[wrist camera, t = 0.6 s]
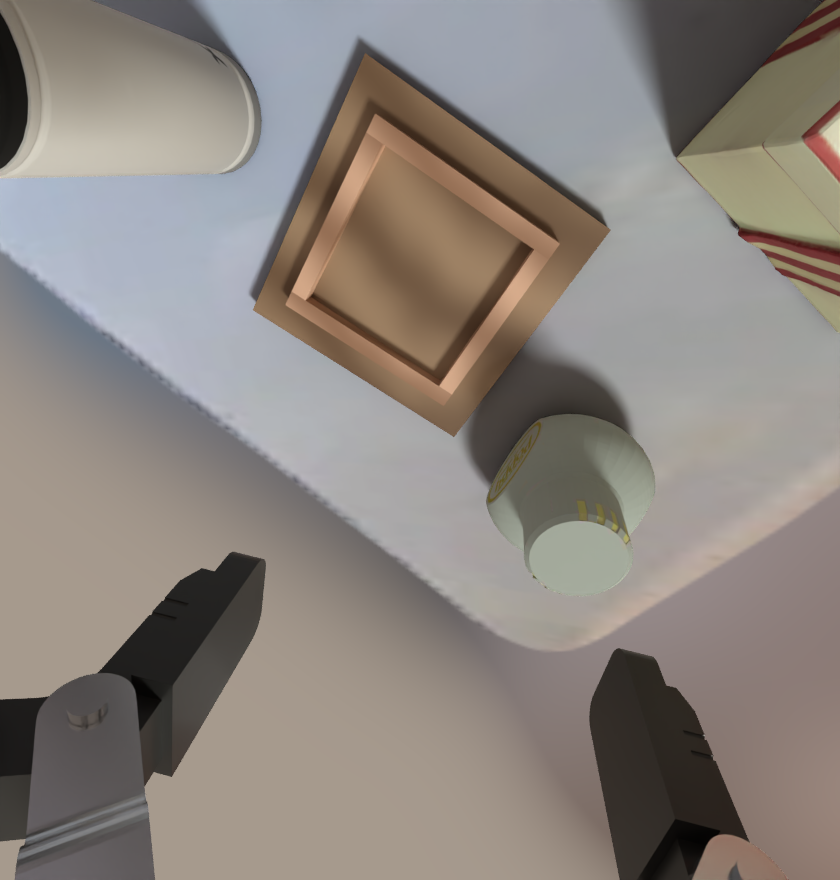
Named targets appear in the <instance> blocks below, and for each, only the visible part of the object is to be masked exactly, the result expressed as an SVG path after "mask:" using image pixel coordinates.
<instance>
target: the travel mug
mask: <svg viewBox="0 0 840 880" xmlns="http://www.w3.org/2000/svg"><path fill="white" fill-rule="evenodd" d="M261 121H262V120H261V110H260V105H259V101H258V97H257V94H256V92H255V89H254V87H253V85H252V83H251V81H250V80H249V78H248V76H247V75H246V73H245V72H244V71H243V69H242V68H241V67H240V66H239V65H238V64H237V63H236V62H235V61H234V60H233V59H231V58H230V57H229V56H227V55H226V54H224V53H222V52H220V51H218V50H216V49H213V48H211V47H208V46H206V45H203V44H201V43H198V42H196V41H193V40H191V39H188V38H185V37H183V36H180V35H178V34H175V33H173V32H170V31H168V30H165V29H163V28H160V27H158V26H155V25H153V24H150V23H148V22H145V21H143V20H140V19H137V18H135V17H132V16H130V15H127V14H125V13H122V12H120V11H117V10H115V9H112V8H110V7H107V6H105V5H102V4H100V3H97V2H95V1H92V0H0V178H43V177H92V176H141V175H190V174H225V173H229V172H233V171H235V170H237V169H239V168H241V167H242V166H243V165H244V164H246V163H247V162H248V161H249V159H250V158H251V157H252V155H253V154H254V152H255V150H256V147H257V145H258V142H259V138H260V134H261Z"/></svg>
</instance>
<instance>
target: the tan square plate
mask: <svg viewBox="0 0 840 880" xmlns="http://www.w3.org/2000/svg"><path fill="white" fill-rule="evenodd" d="M609 232H610V229H609V228H607V227H606V226H605V225H603V224H602V223H600V222H599V221H598V220H596V219H595V218H593V217H592V216H591V215H589V214H588V213H587V212H585V211H584V210H582V209H581V208H580V207H578V206H577V205H575V204H574V203H573V202H571V201H570V200H568V199H567V198H566V197H564V196H563V195H561V194H560V193H559V192H557V191H556V190H555V189H553V188H552V187H550V186H549V185H548V184H546V183H545V182H543V181H542V180H541V179H539V178H538V177H536V176H535V175H534V174H532V173H531V172H530V171H528V170H527V169H525V168H524V167H523V166H521V165H520V164H518V163H517V162H516V161H514V160H513V159H511V158H510V157H509V156H507V155H506V154H505V153H503V152H502V151H500V150H499V149H498V148H496V147H495V146H493V145H492V144H491V143H489V142H488V141H486V140H485V139H484V138H482V137H481V136H480V135H478V134H477V133H475V132H474V131H473V130H471V129H470V128H468V127H467V126H466V125H464V124H463V123H461V122H460V121H459V120H457V119H456V118H455V117H453V116H452V115H450V114H449V113H448V112H446V111H445V110H443V109H442V108H441V107H439V106H438V105H436V104H435V103H434V102H432V101H431V100H430V99H428V98H427V97H425V96H424V95H423V94H421V93H420V92H418V91H417V90H416V89H414V88H413V87H411V86H410V85H409V84H407V83H406V82H405V81H403V80H402V79H400V78H399V77H398V76H396V75H395V74H393V73H392V72H391V71H389V70H388V69H386V68H385V67H384V66H382V65H381V64H380V63H378V62H377V61H375V60H374V59H373V58H371V57H370V56H368V55H367V54H366V53H365V55H364V57H363V59H362V62H361V64H360V66H359V68H358V71H357V73H356V75H355V78H354V80H353V82H352V84H351V87H350V89H349V91H348V94H347V96H346V98H345V100H344V103H343V105H342V107H341V110H340V112H339V114H338V116H337V119H336V121H335V123H334V126H333V128H332V130H331V132H330V135H329V137H328V139H327V142H326V144H325V146H324V149H323V151H322V153H321V155H320V158H319V160H318V162H317V165H316V167H315V169H314V171H313V174H312V176H311V178H310V181H309V183H308V185H307V187H306V190H305V192H304V194H303V197H302V199H301V201H300V203H299V206H298V208H297V210H296V213H295V215H294V217H293V219H292V222H291V224H290V226H289V229H288V231H287V233H286V235H285V238H284V240H283V242H282V245H281V247H280V249H279V251H278V254H277V256H276V258H275V261H274V263H273V265H272V267H271V270H270V272H269V274H268V277H267V279H266V281H265V283H264V286H263V288H262V290H261V293H260V295H259V297H258V300H257V302H256V304H255V306H254V309H253V310H254V311H255V312H257V313H258V314H260V315H262V316H263V317H265V318H266V319H268V320H269V321H271V322H273V323H274V324H276V325H277V326H279V327H281V328H282V329H284V330H285V331H287V332H288V333H290V334H292V335H293V336H295V337H296V338H298V339H300V340H301V341H303V342H304V343H306V344H308V345H309V346H311V347H312V348H314V349H315V350H317V351H319V352H320V353H322V354H323V355H325V356H327V357H328V358H330V359H331V360H333V361H334V362H336V363H338V364H339V365H341V366H342V367H344V368H346V369H347V370H349V371H350V372H352V373H353V374H355V375H357V376H358V377H360V378H361V379H363V380H365V381H366V382H368V383H369V384H371V385H372V386H374V387H376V388H377V389H379V390H380V391H382V392H384V393H385V394H387V395H388V396H390V397H392V398H393V399H395V400H396V401H398V402H399V403H401V404H403V405H404V406H406V407H407V408H409V409H411V410H412V411H414V412H415V413H417V414H418V415H420V416H422V417H423V418H425V419H426V420H428V421H430V422H431V423H433V424H434V425H436V426H437V427H439V428H441V429H442V430H444V431H445V432H447V433H449V434H450V435H452V436H453V437H454V436H455V435H456V434H457V432H458V431H459V430H460V428H461V427H462V426H463V424H464V423H465V422H466V420H467V419H468V418H469V416H470V415H471V414H472V412H473V411H474V410H475V408H476V407H477V406H478V405H479V403H480V402H481V401H482V399H483V398H484V397H485V395H486V394H487V393H488V391H489V390H490V389H491V387H492V386H493V385H494V383H495V382H496V381H497V379H498V378H499V377H500V375H501V374H502V373H503V372H504V370H505V369H506V368H507V366H508V365H509V364H510V362H511V361H512V360H513V358H514V357H515V356H516V354H517V353H518V352H519V350H520V349H521V348H522V346H523V345H524V344H525V342H526V341H527V340H528V339H529V337H530V336H531V335H532V333H533V332H534V331H535V329H536V328H537V327H538V325H539V324H540V323H541V321H542V320H543V319H544V317H545V316H546V315H547V313H548V312H549V311H550V309H551V308H552V307H553V306H554V304H555V303H556V302H557V300H558V299H559V298H560V296H561V295H562V294H563V292H564V291H565V290H566V288H567V287H568V286H569V284H570V283H571V282H572V280H573V279H574V278H575V276H576V275H577V274H578V273H579V271H580V270H581V269H582V267H583V266H584V265H585V263H586V262H587V261H588V259H589V258H590V257H591V255H592V254H593V253H594V251H595V250H596V249H597V247H598V246H599V245H600V243H601V242H602V241H603V240H604V238H605V237H606V236H607V234H608V233H609Z"/></svg>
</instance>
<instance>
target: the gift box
mask: <svg viewBox="0 0 840 880" xmlns="http://www.w3.org/2000/svg"><path fill="white" fill-rule="evenodd" d="M676 159H677V161H678V162H679V163H680V164H681V165H682V166H683V167H684V168H685V169H686V170H687V171H688V172H689V174H690V175H691V176H692V177H693V178H694V179H695V180H696V181H697V182H698V183H699V184H700V185H701V186H702V187H703V188H704V189H705V190H706V191H707V192H708V193H709V194H710V195H711V196H712V197H713V199H714V200H715V201H716V202H717V203H718V204H719V205H720V206H721V207H722V208H723V209H724V210H725V211H726V213H727V214H728V215H729V216H730V217H731V218H732V219H733V220H734V221H735V222H736V223H737V225H738V226H739V228H740V229H739V232H738V235H739V236H740V237H741V238H743V239H744V240H745V241H747V242H748V243H750V244H752V245H754V246H756V247H758V248H760V249H761V250H762V251H763V252H764V253H765V254H766V256H767V257H768V259H769V260H770V262H771V263H772V264H773V266H774V267H775V269H776V270H777V271H779V272H780V273H781V274H782V275H784V276H786V277H787V278H788V279H789V280H790V281H791V282H792V283H793V284H794V285H795V286H796V287H797V288H798V289H799V291H800V292H801V293H802V294H803V295H804V296H805V297H806V298H807V299H808V300H809V301H810V303H811V304H812V305H813V306H814V307H815V308H816V309H817V310H818V311H819V313H820V314H821V315H822V316H823V317H824V318H825V319H826V320H827V321H828V322H829V323H830V324H831V325H832V327H833V328H834V329H835V330H836V331H837V332H839V333H840V0H824V1H823V2H822V3H821V4H820V5H819V6H818V7H817V8H816V9H815V10H814V11H813V12H812V13H811V14H810V15H809V16H808V17H807V18H806V19H805V20H804V21H803V22H802V23H801V24H800V25H799V26H798V27H797V28H796V29H795V30H794V32H793V33H792V34H791V35H790V36H789V37H788V38H787V39H786V40H785V41H784V42H783V43H782V44H781V45H780V46H779V47H778V48H777V50H776V51H775V52H774V53H773V54H772V55H771V56H770V57H769V58H768V59H767V61H766V62H765V63H764V64H763V65H762V66H761V67H760V69H759V70H758V71H757V72H756V73H755V74H754V75H753V76H752V77H751V78H750V79H749V80H748V81H747V83H746V84H745V85H744V86H743V87H742V88H741V89H740V90H739V91H738V92H737V93H736V94H735V95H734V96H733V97H732V98H731V99H730V100H729V101H728V102H727V103H726V105H725V106H724V107H723V108H722V109H721V110H720V111H719V112H718V113H717V114H716V115H715V116H714V117H713V118H712V119H711V120H710V121H709V122H708V124H707V125H706V126H705V127H704V128H703V129H702V130H701V131H700V132H699V133H698V134H697V135H696V137H695V138H694V139H693V140H692V141H691V142H690V143H689V144H688V145H687V146H686V147H685V148H684V149H683V151H682V152H681V153H680V154H679V155H678V156H677V158H676Z"/></svg>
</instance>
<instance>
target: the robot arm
mask: <svg viewBox="0 0 840 880" xmlns="http://www.w3.org/2000/svg"><path fill="white" fill-rule="evenodd" d="M265 569H266V563H265V560H264V559H261V558H257V557H252V556H249V555H245V554H241V553H237V552H231V553H230V554H229V555H228V556H227V557H226V558H225V559H224V561H223V562H222V563H221V565H220V566H219V567H218V568H217V569H216V571H210V570H207V569H202V568H201V569H200V570H198V571H197V572H195V573H193V574H191V575H189V576H187V577H186V578H184V579H182V580H180V581H179V582H178V584H177V585H176V586H175V587H174V588H173V589H172V590H171V591H170V593H169V594H168V595H167V596H166V597H165V600H164V601H161V603H160V604H159V605H158V606H157V607H156V608H155V609H154V611H153V612H152V615H149V616H148V617H147V618H146V619H145V621H144V622H143V623H142V624H141V625H140V626H139V628H138V629H137V630H136V631H135V632H134V633H133V634H132V635H131V636H130V638H129V639H128V640H127V641H126V642H125V643H124V644H123V645H122V647H121V648H120V649H119V650H118V651H117V652H116V653H115V655H114V656H113V657H112V658H111V659H110V660H109V661H108V663H106V665H105V666H104V667H103V668H102V669H101V670H100V671H99V672H98V673H96V674H91V675H86V676H83V677H79V678H77V679H75V680H72V681H70V682H68V683H66V684H65V685H63V686H61V687H60V688H59V689H57V690H56V691H55V692H54V693H52V694H51V695H50V696H48V697H43V698H27V699H5V700H4V699H3V700H0V841H9V840H18V839H26V840H25V845H24V846H21V847H20V850H19V853H18V858H17V864H16V872H15V880H155V875H154V864H153V854H152V843H151V833H150V822H149V812H148V804H147V802H146V798H145V788H144V787H145V785H146V783H147V782H148V780H149V779H150V777H151V775H152V774H153V772H156V773H160V774H163V775H167V776H171V777H172V775H173V774H174V772H175V770H176V769H177V767H178V765H179V764H180V762H181V760H182V758H183V757H184V755H185V753H186V752H187V750H188V748H189V747H190V745H191V743H192V741H193V740H194V738H195V736H196V735H197V733H198V731H199V729H200V728H201V726H202V724H203V723H204V721H205V719H206V717H207V716H208V714H209V712H210V711H211V709H212V707H213V705H214V704H215V702H216V700H217V698H218V697H219V695H220V694H221V692H222V690H223V688H224V687H225V685H226V683H227V682H228V680H229V678H230V676H231V675H232V673H233V671H234V670H235V668H236V666H237V664H238V663H239V661H240V659H241V658H242V656H243V654H244V653H245V651H246V649H247V647H248V646H249V644H250V642H251V641H252V639H253V636H254V635H255V632H256V629H257V627H258V624H259V620H260V616H261V611H262V600H263V589H264V579H265ZM589 717H590V729H591V735H592V740H593V745H594V750H595V755H596V760H597V765H598V771H599V776H600V781H601V786H602V791H603V796H604V801H605V806H606V812H607V816H608V822H609V827H610V832H611V837H612V842H613V847H614V852H615V857H616V862H617V868H618V873H619V878H620V880H788V878H787V877H786V876H785V874H784V873H783V872H782V870H780V868H779V867H778V866H777V864H776V863H775V862H774V861H772V859H771V858H770V857H768V856H767V855H766V854H765V853H764V852H763V851H761V850H760V849H759V848H757V847H756V846H754V845H753V844H751V843H750V842H749V840H748V838H747V835H746V833H745V830H744V828H743V826H742V823H741V821H740V818H739V816H738V814H737V811H736V809H735V807H734V804H733V802H732V799H731V797H730V795H729V792H728V790H727V788H726V785H725V783H724V780H723V778H722V776H721V773H720V771H719V769H718V766H717V764H716V761H713V754H712V751H711V749H710V747H709V744H708V742H707V740H705V739H704V737H705V735H704V733H703V730H702V728H701V725H700V723H699V720H698V718H697V716H696V713H695V711H694V710H693V709H692V707H691V706H690V705H689V704H688V702H687V701H686V700H685V698H684V697H683V696H682V695H681V693H680V692H679V691H678V690H677V688H674V687H670V686H666V684H665V682H664V679H663V676H662V673H661V671H660V668H659V666H658V663H657V661H656V660H655V658H654V657H652V656H648V655H644V654H640V653H636V652H632V651H627V650H624V649H620V648H618V649H616V650H615V651H614V652H613V654H612V656H611V658H610V660H609V662H608V665H607V667H606V669H605V671H604V673H603V675H602V678H601V680H600V682H599V684H598V686H597V689H596V691H595V693H594V696H593V698H592V701H591V706H590V716H589Z"/></svg>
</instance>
